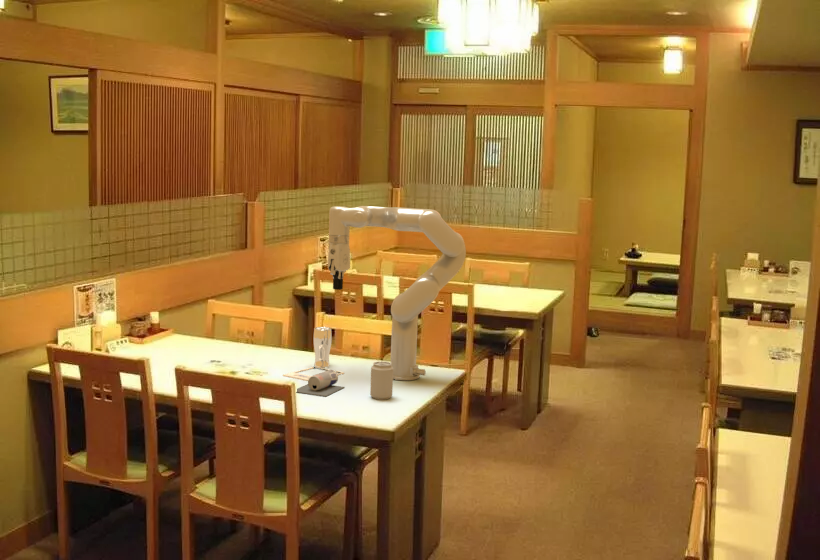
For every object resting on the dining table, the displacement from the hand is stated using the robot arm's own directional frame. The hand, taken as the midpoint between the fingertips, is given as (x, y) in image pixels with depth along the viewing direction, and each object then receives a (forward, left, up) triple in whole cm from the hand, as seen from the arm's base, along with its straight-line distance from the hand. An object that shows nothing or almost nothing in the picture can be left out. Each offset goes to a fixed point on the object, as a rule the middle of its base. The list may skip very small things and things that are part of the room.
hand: (337, 289), depth 337 cm
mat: (-6, +25, -32) cm, 41 cm away
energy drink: (-7, +16, -29) cm, 34 cm away
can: (-29, +23, -32) cm, 49 cm away
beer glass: (+10, -8, -32) cm, 35 cm away
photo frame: (+6, +6, -33) cm, 34 cm away
